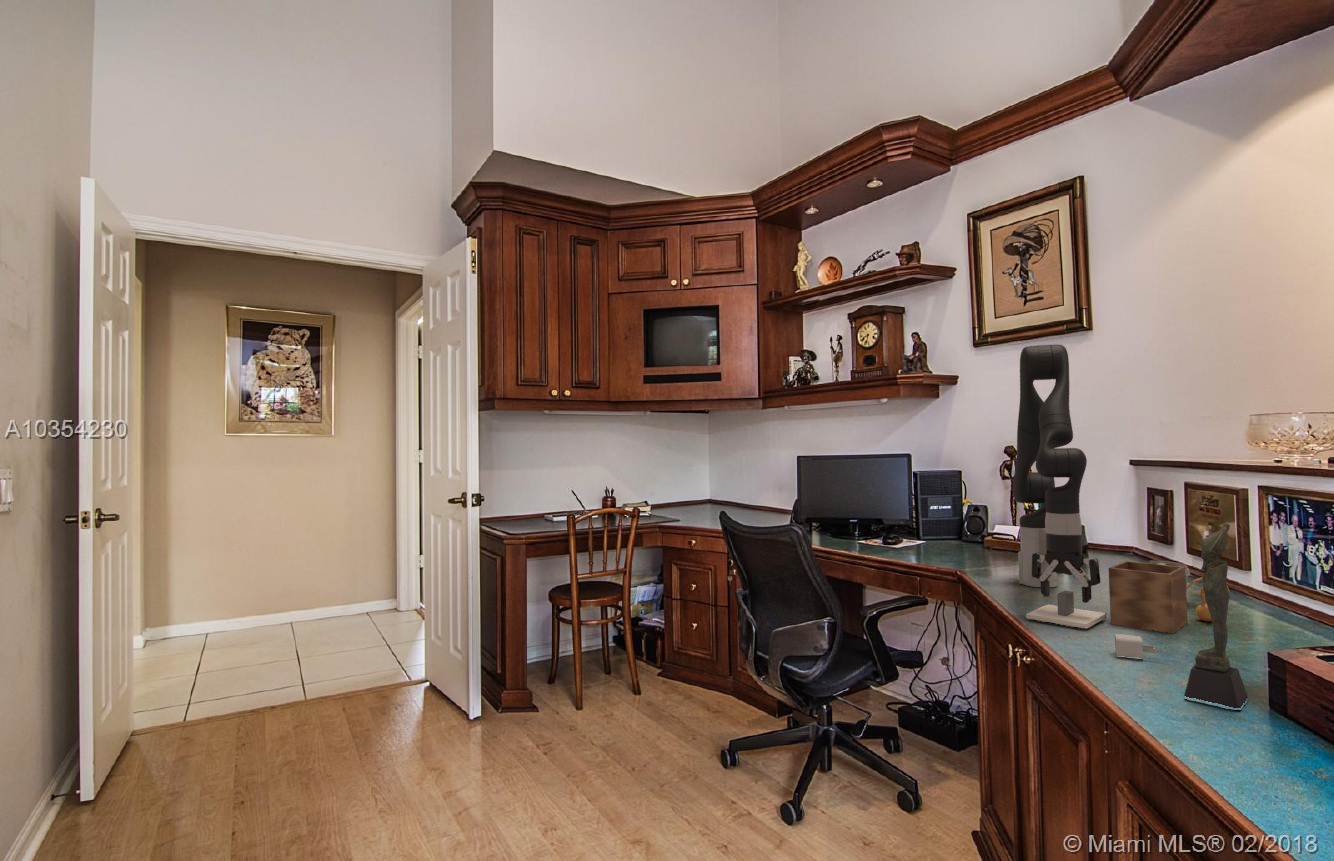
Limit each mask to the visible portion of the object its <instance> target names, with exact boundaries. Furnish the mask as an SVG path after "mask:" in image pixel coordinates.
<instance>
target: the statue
mask: <svg viewBox="0 0 1334 861" xmlns="http://www.w3.org/2000/svg"><path fill="white" fill-rule="evenodd" d="M1230 528H1231V525H1230V524H1229V523H1228V521H1225V522H1224V523H1223V525H1222V527H1221V528H1220V529H1219V530H1218V531H1215V532H1213V533H1212V534H1209V535H1208V536H1207V537H1205V538H1202V539H1201V540H1200V543H1199V544H1200V548H1201V556H1200V557H1201V559H1202V566H1201V569H1200V570H1202V571H1203V572H1204V573H1203V574H1202V576H1201V577H1202V579H1203V581H1202V584H1203V585H1202V587H1203V589H1204V594H1203V595H1204V597H1205V604H1207V606H1208V609H1209V612H1210V615H1211V619H1212V621H1211V623H1212V632H1213V634H1212V635H1213V640H1214V647H1211V648H1205V649H1201V650H1198V651H1197V654H1196V656H1195V658H1194V660H1195V662H1194V663H1195V664H1194V665H1193V666H1192V667H1191V668H1190V672H1189V675H1188V680H1187V683H1186V688H1185V689H1184V690H1185V691H1184V695H1183V697H1184V696H1186V697H1189V698H1196V699H1199V700H1200V699H1201V700H1204V701H1208V702H1212V703H1218V704H1222V705H1225V706H1229V707H1233V708H1241V706H1242V705H1243V703H1245V701H1246V699H1247V698H1248V699H1249V695H1248V693H1247V690H1246V687H1245V684H1244V682H1243V679H1242V675H1241V674H1240V671H1239V669H1238V667H1237V668H1236V667H1232V666H1231V663H1230V659H1229V657H1228V655H1227V653H1226V649H1227V643H1228V637H1229V636H1228V627H1227V626H1228V625H1227V617H1228V611H1229V602H1230V598H1231V597H1230V593H1229V592H1228V589H1227V586H1228V584H1227V579H1228V568H1229V564H1228V560H1222V556H1223V554H1224V552H1225V549H1226V548H1225V547H1226V544H1227V542H1226V541H1227V534H1228V532H1229V531H1230ZM1203 582H1204V583H1203Z"/></svg>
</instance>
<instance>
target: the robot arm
mask: <svg viewBox="0 0 1334 861" xmlns="http://www.w3.org/2000/svg"><path fill="white" fill-rule="evenodd" d="M1069 360H1070V359H1069V355H1068V350H1067V348H1066V346H1064V345H1063V344H1041V345H1040V344H1039V345H1029V346H1025V347H1023V349H1022V350H1021V352H1020V358H1019V404H1018V405H1019V406H1018V417H1017V430H1016V431H1017V432H1016V434H1017V435H1016V459H1015V465H1014V467H1015V468H1014V473H1013V480H1012V494H1013V495H1012V496H1013V498H1014V500H1015V501H1016V502H1017V503H1019V504H1040V507H1039V508H1037V509H1036V510H1034V511H1032V512H1030V513H1026V514H1024V515H1021V516H1020V517H1019V534H1020V536H1019V537H1020V551H1018V552H1017V558H1018V559H1017V562H1018V563H1017V564H1018V583H1019V584H1020V585H1024V586H1027V587H1032V588H1040V593H1041V595H1042V596H1043V597H1044V598H1045V597H1046V598H1048V597H1050V596H1051V588H1055V587H1058V574H1059V575H1060V574H1061V575H1062V574H1063V575H1067V576H1072V575H1073V576H1074V577H1075V578H1076V579H1077V580H1078V581H1079V582H1080V584H1081V585H1082V586H1081V601H1082V603H1083V604H1087V603H1089V602H1090V601H1091V599H1093V598H1092V597H1093V596H1092V587H1093V586H1098V585H1099V584H1101V575H1100V574H1101V573H1100V572H1101V571H1100V564H1099V559H1098V558H1096V557H1095V558H1085V557H1084V556H1083V533H1082V532H1083V527H1082V520H1081V512H1080V511H1081V510H1080V490H1081V486H1082V482H1083V479H1084V476H1085V472H1086V468H1087V462H1088V460H1087V455H1086V454H1085V452H1084V451H1083V450H1082V449H1080V448H1077V447H1076V448H1075V447H1066V448H1065V447H1064V446H1067V445H1069V444H1071V442H1072V441H1073V438H1074V431H1073V424H1072V419H1071V412H1070V411H1071V410H1070V361H1069ZM1047 380H1055V382H1054V385H1053V387H1052V388H1053V389H1052V390H1051V392H1050V394H1049V395H1048V396H1047V398H1046V399H1045V400H1043V399H1042V398H1041V396H1040V395H1039V393H1038V391H1037V388H1035V385H1034V381H1047ZM1061 447H1062V448H1061ZM1034 464H1035V470H1036V471H1034V472H1031V471H1030V470H1031V468H1032V466H1033V465H1034ZM1055 478H1068V480H1067V482H1066V483H1065V484H1063V485H1060V486H1056V482H1055ZM1083 565H1086V567H1087V568H1088V569H1089V575H1090V576H1088V575H1087V573H1086V572H1085V571H1084V569H1083V568H1082V567H1083ZM1089 577H1090V578H1089Z"/></svg>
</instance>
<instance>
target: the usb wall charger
mask: <svg viewBox="0 0 1334 861" xmlns="http://www.w3.org/2000/svg"><path fill="white" fill-rule="evenodd" d="M1143 643H1144V642H1143V638H1142V636H1140V635H1130V634H1120V633H1114V645H1115V646H1114V648H1115V650H1116V651H1115V650H1114V651H1115V655H1116V654H1117V656H1125V657H1139V658H1143V659H1144V653H1151V654H1159V653H1160V652H1159V649H1158V646H1153V645H1146V644H1143Z"/></svg>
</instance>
